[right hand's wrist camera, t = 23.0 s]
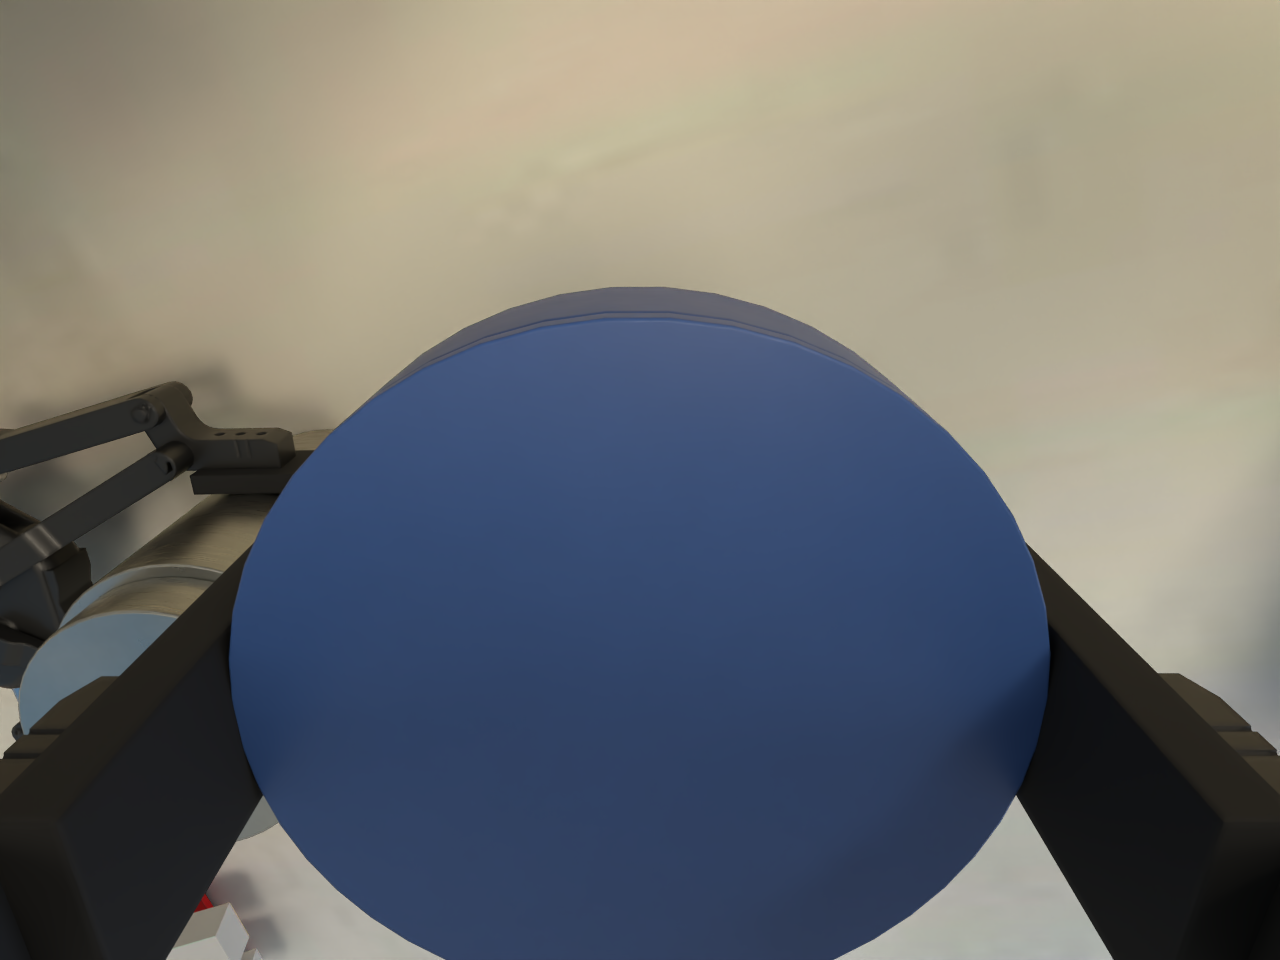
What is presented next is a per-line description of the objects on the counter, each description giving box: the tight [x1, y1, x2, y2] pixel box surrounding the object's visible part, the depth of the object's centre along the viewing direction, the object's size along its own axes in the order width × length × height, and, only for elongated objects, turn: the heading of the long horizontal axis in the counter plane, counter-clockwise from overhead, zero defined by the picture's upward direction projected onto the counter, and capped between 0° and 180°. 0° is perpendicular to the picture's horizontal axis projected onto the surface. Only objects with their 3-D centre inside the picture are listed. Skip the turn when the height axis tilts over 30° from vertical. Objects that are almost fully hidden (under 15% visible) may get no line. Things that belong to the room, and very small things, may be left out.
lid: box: [229, 287, 1050, 960], centre depth 12 cm, size 11×11×2 cm
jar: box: [18, 430, 333, 841], centre depth 32 cm, size 10×10×16 cm
